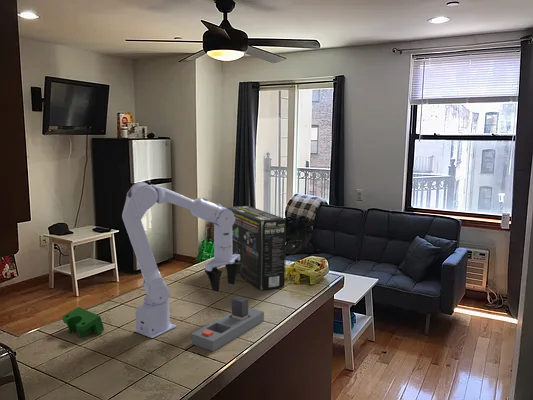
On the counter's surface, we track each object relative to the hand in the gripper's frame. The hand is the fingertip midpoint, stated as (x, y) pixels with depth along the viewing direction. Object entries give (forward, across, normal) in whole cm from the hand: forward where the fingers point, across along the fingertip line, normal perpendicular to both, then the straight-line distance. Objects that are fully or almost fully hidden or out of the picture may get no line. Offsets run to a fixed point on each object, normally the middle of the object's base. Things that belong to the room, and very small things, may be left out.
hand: (223, 287), depth 140 cm
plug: (+9, -2, -8) cm, 13 cm away
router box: (+10, +38, +17) cm, 43 cm away
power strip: (+10, -7, -8) cm, 15 cm away
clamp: (+10, -33, +26) cm, 43 cm away
